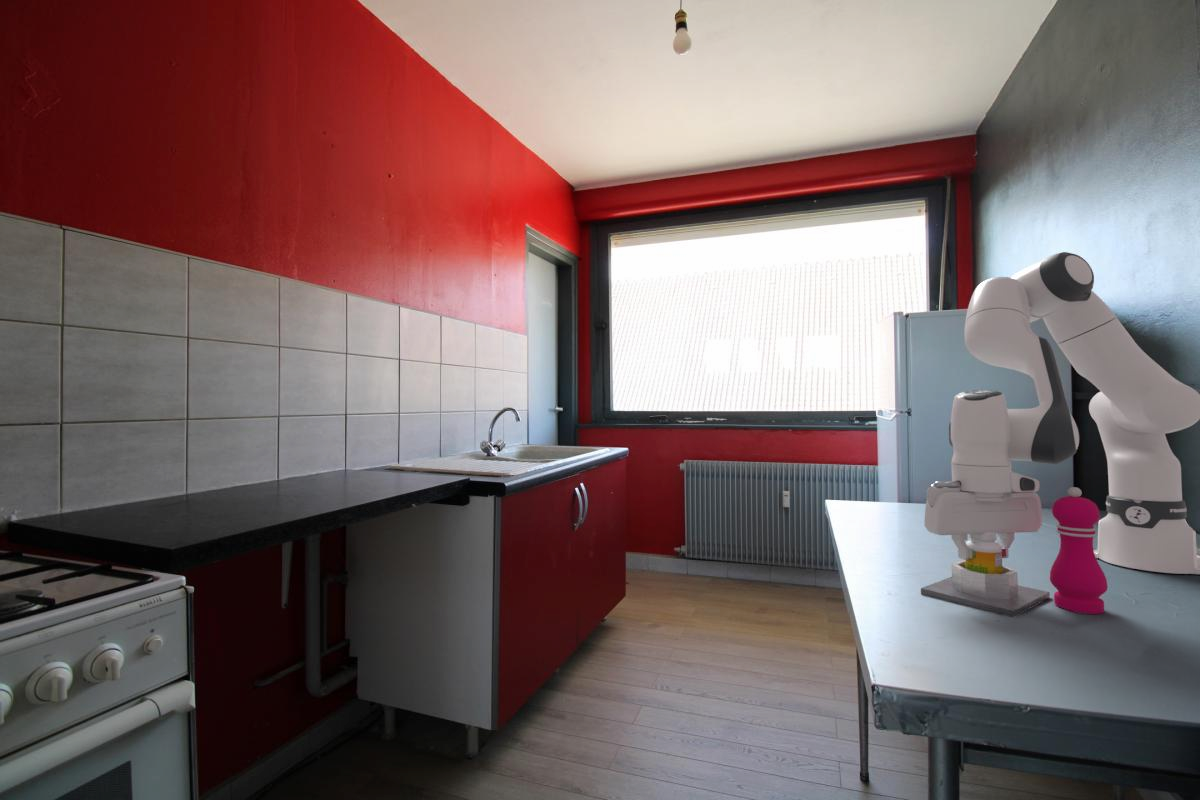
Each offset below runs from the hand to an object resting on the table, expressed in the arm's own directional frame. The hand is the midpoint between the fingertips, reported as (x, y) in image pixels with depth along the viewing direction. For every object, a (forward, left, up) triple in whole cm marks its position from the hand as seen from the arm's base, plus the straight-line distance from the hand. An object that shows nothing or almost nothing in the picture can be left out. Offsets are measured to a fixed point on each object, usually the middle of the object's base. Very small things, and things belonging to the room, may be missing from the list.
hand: (983, 558), depth 97 cm
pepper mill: (-6, +12, -7) cm, 15 cm away
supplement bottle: (0, 0, -5) cm, 5 cm away
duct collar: (0, 0, -7) cm, 7 cm away
